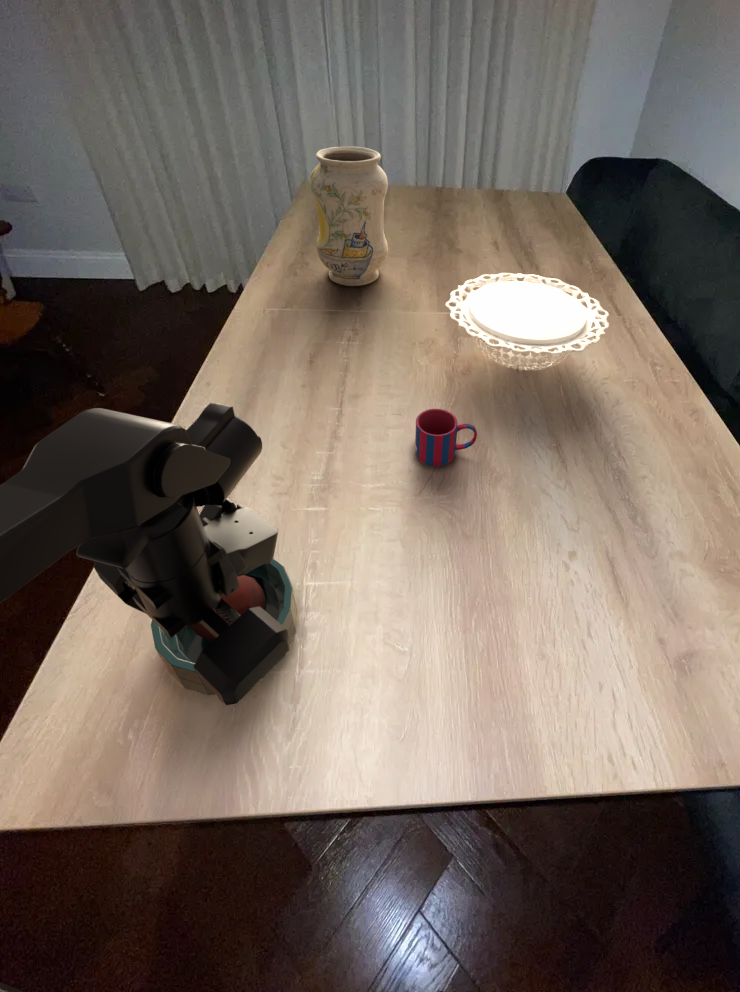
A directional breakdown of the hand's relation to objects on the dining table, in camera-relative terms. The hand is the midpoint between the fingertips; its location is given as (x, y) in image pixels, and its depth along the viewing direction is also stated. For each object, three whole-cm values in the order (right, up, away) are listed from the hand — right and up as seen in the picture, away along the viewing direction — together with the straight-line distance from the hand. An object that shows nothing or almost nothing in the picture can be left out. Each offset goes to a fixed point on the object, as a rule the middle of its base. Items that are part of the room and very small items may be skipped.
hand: (209, 651), depth 50 cm
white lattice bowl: (+37, +31, +62) cm, 78 cm away
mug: (+22, +14, +39) cm, 47 cm away
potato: (-3, -4, +13) cm, 14 cm away
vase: (-2, +55, +88) cm, 104 cm away
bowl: (-3, -4, +13) cm, 14 cm away
